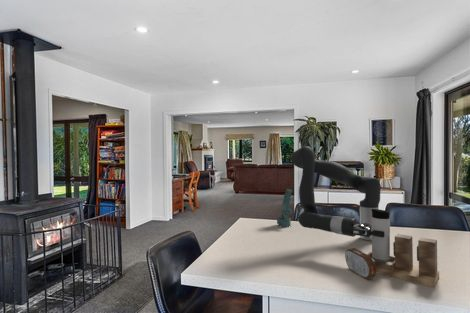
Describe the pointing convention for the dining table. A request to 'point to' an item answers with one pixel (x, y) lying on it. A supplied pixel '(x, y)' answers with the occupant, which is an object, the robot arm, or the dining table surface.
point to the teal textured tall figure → (285, 210)
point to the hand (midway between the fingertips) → (386, 232)
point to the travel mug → (378, 243)
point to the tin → (360, 263)
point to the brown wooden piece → (411, 261)
